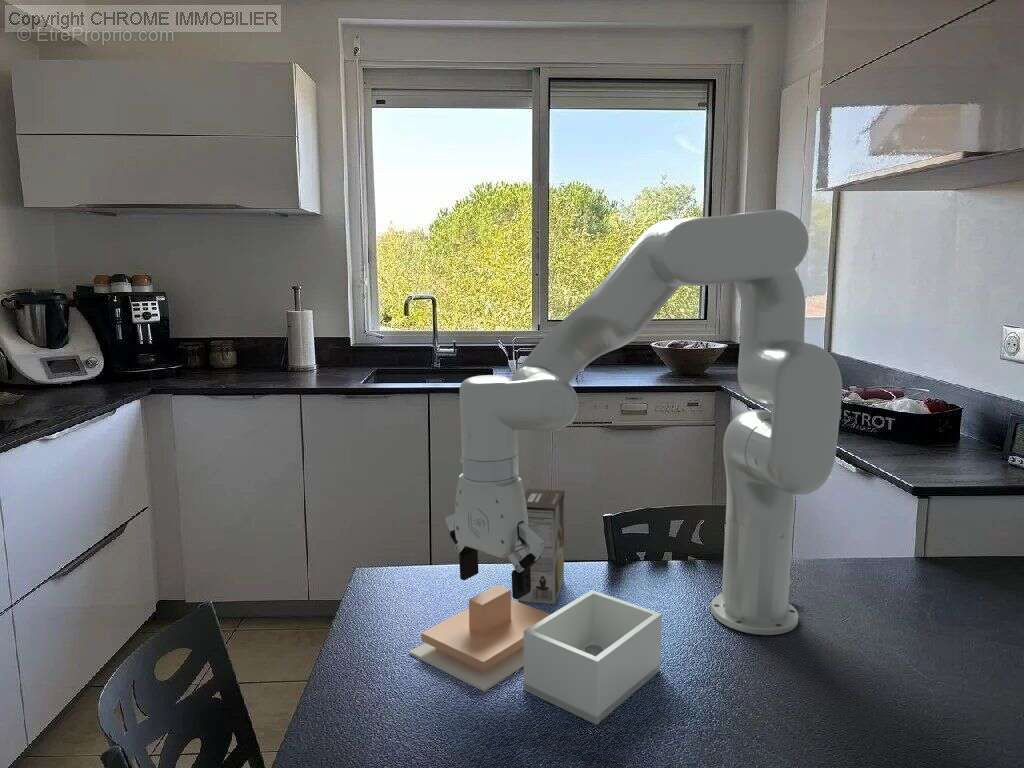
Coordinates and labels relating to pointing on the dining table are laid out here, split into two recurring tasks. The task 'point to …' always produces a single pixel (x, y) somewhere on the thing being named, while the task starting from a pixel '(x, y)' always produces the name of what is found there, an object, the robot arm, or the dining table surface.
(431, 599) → the dining table surface
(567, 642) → the tub
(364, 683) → the dining table surface
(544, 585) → the coffee box
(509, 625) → the lid
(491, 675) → the mat
